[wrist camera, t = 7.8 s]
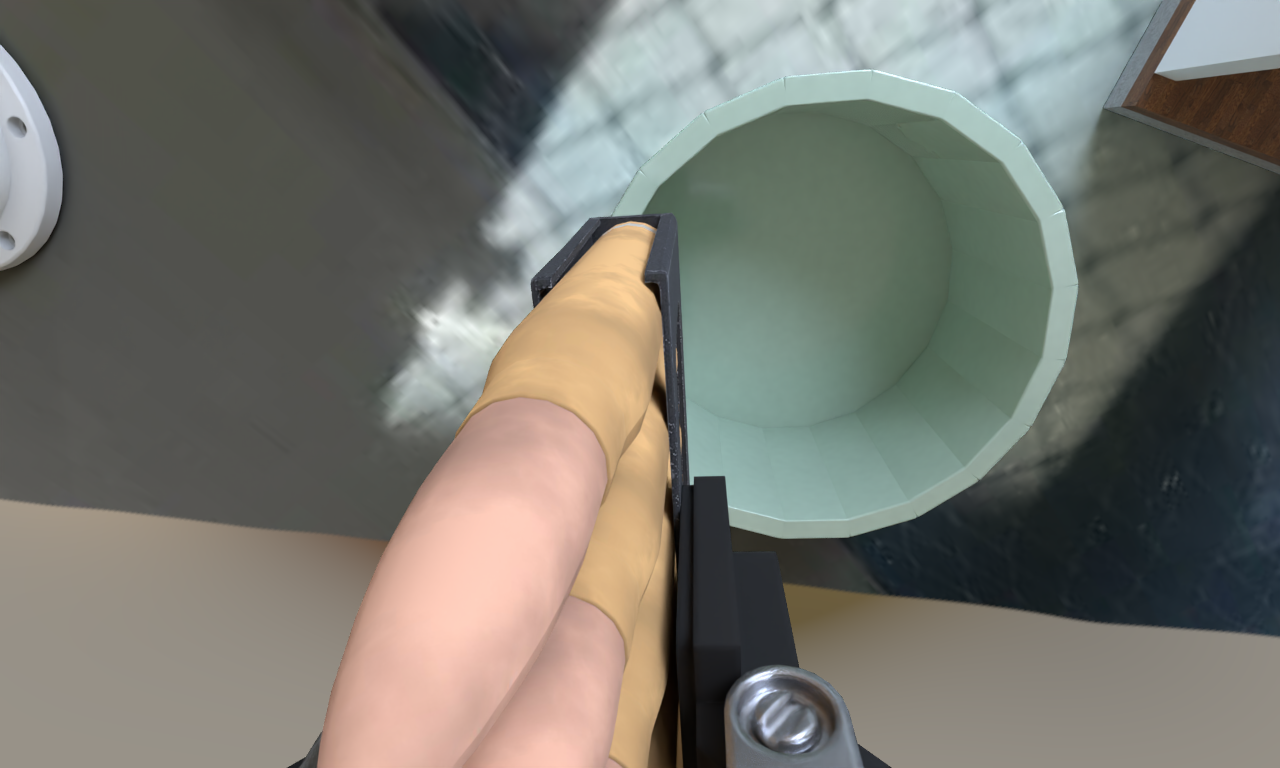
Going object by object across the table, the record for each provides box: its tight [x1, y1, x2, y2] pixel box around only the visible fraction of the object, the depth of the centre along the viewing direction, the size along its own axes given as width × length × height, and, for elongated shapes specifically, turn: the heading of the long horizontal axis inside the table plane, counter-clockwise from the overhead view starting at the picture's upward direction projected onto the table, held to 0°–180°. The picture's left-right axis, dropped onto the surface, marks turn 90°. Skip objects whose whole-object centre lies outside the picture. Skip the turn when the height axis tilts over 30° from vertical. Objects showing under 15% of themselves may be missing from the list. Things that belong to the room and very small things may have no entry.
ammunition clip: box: [317, 213, 690, 768], centre depth 9 cm, size 11×2×12 cm, turn 4°
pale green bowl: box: [611, 69, 1079, 539], centre depth 25 cm, size 16×16×9 cm
